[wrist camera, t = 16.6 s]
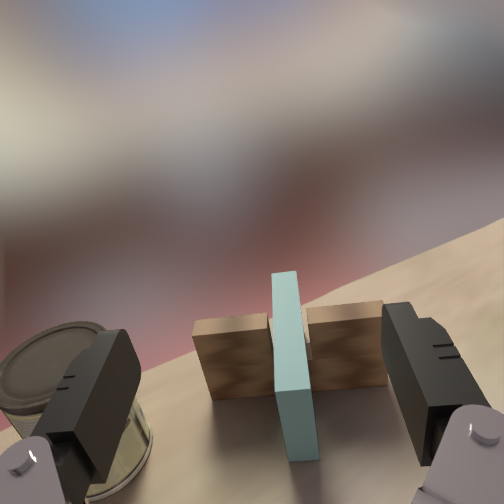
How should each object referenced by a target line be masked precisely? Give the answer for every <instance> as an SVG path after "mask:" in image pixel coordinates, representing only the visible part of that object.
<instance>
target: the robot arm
mask: <svg viewBox="0 0 504 504" xmlns="http://www.w3.org/2000/svg"><path fill="white" fill-rule="evenodd" d="M381 350H382V356H383V360H384V363H385V366H386V369H387V372H388V375H389V377H390V380H391V383H392V386H393V389H394V392H395V394H396V397H397V400H398V403H399V406H400V409H401V412H402V414H403V417H404V420H405V423H406V426H407V429H408V432H409V434H410V437H411V440H412V443H413V446H414V449H415V451H416V454H417V457H418V460H419V463H420V466H431V467H430V470H429V472H428V474H427V477H426V479H425V482H424V484H423V486H422V487H420V488H419V489H418V490H417V492H416V494H415V496H414V498H413V500H412V503H411V504H504V414H502V413H500V412H499V411H497V410H494V409H492V407H491V406H490V404H489V403H488V401H487V400H486V398H485V396H484V395H483V393H482V391H481V389H480V388H479V386H478V384H477V383H476V381H475V379H474V377H473V376H472V374H471V372H470V371H469V369H468V367H467V365H466V364H465V362H464V360H463V359H462V358H461V356H460V353H459V352H458V350H457V348H456V347H455V346H454V343H453V341H452V340H451V338H450V336H449V335H448V333H447V331H446V329H445V328H443V327H442V326H441V325H440V324H438V323H437V322H436V321H435V320H433V319H432V318H431V317H430V318H418V317H417V315H416V313H415V311H414V309H413V307H412V305H411V303H410V302H401V303H390V304H383V305H382V318H381ZM140 379H141V366H140V362H139V360H138V357H137V355H136V352H135V350H134V348H133V345H132V343H131V340H130V338H129V335H128V333H127V332H126V330H124V329H117V330H107V331H100V332H98V334H97V335H96V337H95V339H94V341H93V343H92V345H91V346H90V348H89V349H84V350H83V351H82V352H81V353H80V354H78V355H77V356H76V357H75V358H74V359H73V360H72V361H71V363H70V365H69V366H68V368H67V370H66V372H65V374H64V375H63V379H61V381H60V383H59V384H58V386H57V390H56V391H55V392H54V393H53V395H52V397H51V399H50V401H49V402H48V404H47V406H46V408H45V410H44V411H43V413H42V415H41V417H40V419H39V420H38V422H37V424H36V426H35V428H34V429H33V431H32V433H31V435H30V436H29V437H28V438H25V439H22V440H20V441H18V442H16V443H15V444H13V445H12V446H10V447H9V448H8V449H7V450H5V451H4V452H3V453H2V454H1V456H0V504H89V501H88V499H87V498H86V494H87V492H88V489H89V486H90V484H106V481H107V478H108V475H109V472H110V469H111V466H112V463H113V460H114V457H115V454H116V451H117V448H118V446H119V443H120V440H121V437H122V434H123V431H124V428H125V425H126V422H127V419H128V416H129V413H130V410H131V407H132V404H133V401H134V398H135V395H136V392H137V389H138V386H139V383H140Z"/></svg>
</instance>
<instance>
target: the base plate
mask: <svg viewBox="0 0 504 504" xmlns="http://www.w3.org/2000/svg"><path fill="white" fill-rule="evenodd" d="M382 305H383V301H382V300H380V301H370V302H361V303H352V304H342V305H333V306H324V307H315V308H306V312H307V320H308V329H309V337H310V343H307V344H305V346H306V354H307V362H308V370H309V377H310V385H311V392H315V391H327V390H339V389H351V388H363V387H374V386H386V385H388V372H387V369H386V366H385V363H384V360H383V356H382V350H381V318H382ZM192 338H193V341H194V344H195V347H196V351H197V354H198V357H199V360H200V363H201V366H202V370H203V373H204V376H205V379H206V382H207V385H208V389H209V392H210V395H211V398H212V400H220V399H232V398H244V397H256V396H268V395H275V380H274V347H273V343H272V337H271V332H270V326H269V321H268V316H267V313H259V314H249V315H240V316H231V317H222V318H213V319H204V320H196V321H195V325H194V329H193V333H192Z"/></svg>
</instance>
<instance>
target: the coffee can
mask: <svg viewBox="0 0 504 504" xmlns="http://www.w3.org/2000/svg"><path fill="white" fill-rule="evenodd" d="M100 331H107V330H106V329H105V328H104V327H103V326H101V325H99V324H97V323H93V322H88V321H77V322H70V323H65V324H62V325H58V326H55V327H53V328H50V329H47V330H45V331H43V332H41V333H39V334H37V335H35V336H33V337H31V338H30V339H28V340H27V341H25V342H24V343H22V344H21V345H19V346H18V347H17V348H16V349H14V350H13V351H12V352H11V353H10V354H9V355H8V356H7V357H6V358H5V359H4V360H3V361H2V362H1V363H0V409H1V410H2V412H3V413H4V414H5V416H6V417H7V418H8V420H9V421H10V423H11V424H12V425H13V427H14V428H15V429H16V431H17V432H18V433H19V435H20V436H21V437H22V439H25V438H28V437H29V436H30V435H31V433H32V431H33V429H34V428H35V426H36V424H37V422H38V420H39V419H40V417H41V415H42V413H43V411H44V410H45V408H46V406H47V404H48V402H49V401H50V399H51V397H52V395H53V393H54V392H55V391H56V390H57V386H58V384H59V383H60V381H61V379H63V375H64V374H65V372H66V370H67V368H68V366H69V365H70V363H71V361H72V360H73V359H74V358H75V357H76V356H77V355H78V354H80V353H81V352H82V351H83V350H84V349H89V348H90V346H91V345H92V343H93V341H94V339H95V337H96V335H97V334H98V332H100ZM152 437H153V436H152V431H151V427H150V425H149V423H148V421H147V420H146V418H145V416H144V414H143V412H142V409H141V407H140V405H139V403H138V401H137V399H136V397H135V398H134V401H133V404H132V407H131V410H130V413H129V416H128V419H127V422H126V425H125V428H124V431H123V434H122V437H121V440H120V443H119V446H118V448H117V451H116V454H115V457H114V460H113V463H112V466H111V469H110V472H109V475H108V478H107V481H106V484H90V486H89V489H88V492H87V494H86V498H87V499H88V501H89V502H92V501H97V500H101V499H104V498H106V497H108V496H110V495H112V494H114V493H116V492H117V491H119V490H120V489H122V488H123V487H124V486H125V485H127V484H128V483H129V482H130V481H131V480H132V479H133V478H134V477H135V476H136V474H137V473H138V472H139V471H140V470H141V468H142V466H143V465H144V463H145V461H146V459H147V458H148V455H149V453H150V450H151V446H152Z"/></svg>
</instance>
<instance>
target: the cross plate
mask: <svg viewBox="0 0 504 504" xmlns="http://www.w3.org/2000/svg"><path fill="white" fill-rule="evenodd" d="M272 301H273V341H274V380H275V395H276V400H277V405H278V410H279V415H280V421H281V426H282V431H283V436H284V441H285V446H286V451H287V456H288V461H289V462H297V461H311V460H320V456H319V448H318V440H317V432H316V424H315V416H314V408H313V400H312V393H311V385H310V377H309V370H308V362H307V354H306V346H305V337H304V329H303V321H302V313H301V306H300V298H299V290H298V283H297V275H296V271H291V272H282V273H275V274H272Z"/></svg>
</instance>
